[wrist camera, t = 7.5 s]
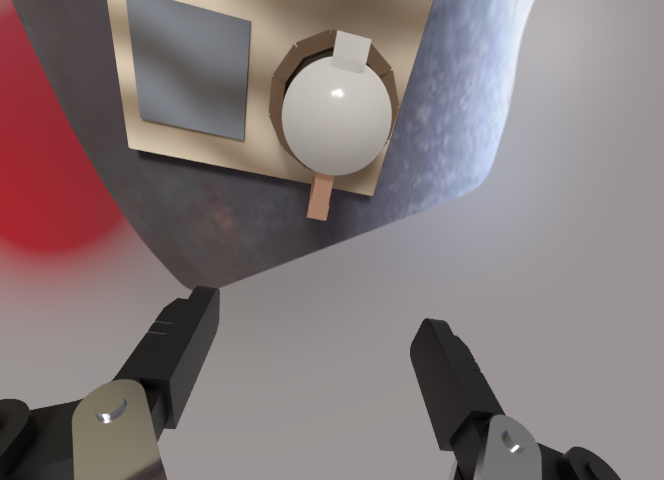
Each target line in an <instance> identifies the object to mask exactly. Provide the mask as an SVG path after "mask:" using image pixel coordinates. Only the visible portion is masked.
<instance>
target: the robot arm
mask: <svg viewBox="0 0 664 480" xmlns="http://www.w3.org/2000/svg"><path fill="white" fill-rule="evenodd" d="M219 297H220V291H219V289H218V288H211V287H204V286H196V287H195V289H194V290H193V292H192V293H191V295H190V297H189V298H188V299H181V298H177V299H176V300H174V301H173V302H172V303H171V304H169V305H167V306H166V307H164V309H163V310H162V312H161V313H160V314H159V316H158V317H157V319H156V320H155V323H153V324H152V326H151V327H150V329H149V330H148V333H146V334H145V336H144V337H143V339H142V340H141V341H140V343H139V344H138V346H137V347H136V348H135V350H134V351H133V353H132V354H131V355H130V357H129V358H128V360H127V361H126V362H125V364H124V365H123V367H122V368H121V370H120V371H119V372H118V374H117V375H116V376H115V378H114V379H113V380H112V381H111V382H108V383H106V384H103V385H101V386H100V387H98V388H96V389H95V390H93V391H92V392H90V393H89V394H88V395H87V396H86V397H85V398H83V399H80V400H77V401H74V402H70V403H64V404H59V405H54V406H50V407H44V408H39V409H34V410H30V409H29V408H28V406H27V405H26V403H24V402H23V401H20V400H17V399H3V400H0V480H167V478H166V474H165V470H164V467H163V464H162V461H161V456H160V452H159V448H158V444H157V442H158V440H159V438H160V436H161V434H162V431H163V429H164V428H166V429H176V427H177V424H178V422H179V419H180V417H181V415H182V412H183V410H184V408H185V405H186V403H187V401H188V398H189V396H190V394H191V391H192V389H193V387H194V384H195V382H196V380H197V377H198V375H199V372H200V370H201V368H202V365H203V363H204V361H205V358H206V356H207V354H208V351H209V349H210V347H211V344H212V342H213V339H214V337H215V335H216V332H217V328H218V324H219V303H220V302H219V300H220V298H219ZM410 357H411V361H412V364H413V367H414V370H415V373H416V377H417V380H418V383H419V386H420V389H421V392H422V395H423V399H424V402H425V405H426V408H427V411H428V414H429V417H430V420H431V423H432V426H433V430H434V432H435V436H436V439H437V442H438V445H439V448H440V450H443V451H453V452H454V454H455V457H456V460H455V461H454V462H453V465H452V468H451V473H450V476H449V480H621V479H620V478H619V476H618V475H617V474H616V473H615V472H614V470H613V469H612V468H611V467H610V466H609V465H608V464H607V463H606V462H605V461H603V460H602V459H601V458H600V457H598V456H597V455H595V454H594V453H592V452H591V451H589V450H587V449H584V448H582V447H573V448H571V449H570V450H569V451H567V452H566V453H565V454H563V453H560V452H558V451H556V450H553V449H551V448H549V447H546V446H544V445H542V444H539V443H537V442H536V441H535V439H534V438H533V436H532V435H531V434H530V433H529V431H528V430H527V429H526V428H525V427H524V426H523V425H521V424H520V423H519V422H517V421H516V420H514V419H513V418H511V417H508V416H506V415H505V413H504V411H503V410H502V408H501V406H500V404H499V402H498V401H497V399H496V397H495V395H494V393H493V392H492V390H491V388H490V386H489V384H488V383H487V381H486V379H485V377H484V375H483V374H482V373H481V372H480V368H479V366H478V365H477V363H476V362H475V359H474V358H473V355H472V354H471V352H470V350H469V348H468V347H467V346H466V345H465V344H464V343H463V341H462V340H461V339H460V338H459V337H457V336H454V335H453V333H452V331H451V329H450V327H449V325H448V324H447V322H445V321H443V320H435V319H428V318H426V319H424V320H423V322H422V324H421V326H420V328H419V330H418V332H417V334H416V336H415V338H414V340H413V342H412V344H411V348H410Z"/></svg>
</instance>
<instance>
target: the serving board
mask: <svg viewBox="0 0 664 480" xmlns="http://www.w3.org/2000/svg"><path fill="white" fill-rule="evenodd" d="M107 2H108V8H109V15H110V22H111V29H112V36H113V42H114V49H115V56H116V63H117V70H118V76H119V83H120V90H121V97H122V104H123V110H124V117H125V124H126V131H127V138H128V144H129V148H132V149H137V150H142V151H147V152H152V153H157V154H162V155H167V156H172V157H177V158H182V159H187V160H192V161H197V162H202V163H208V164H213V165H218V166H223V167H228V168H233V169H238V170H243V171H248V172H253V173H258V174H263V175H268V176H273V177H278V178H283V179H288V180H293V181H298V182H303V183H308V184H312V178H314V174H315V171H314V170H312V169H311V168H309V167H307V166H306V165H305V164H303V163H302V162H301V161H300V160H299V159H298V158H297V157H296V156H295V154H294V153H293V152H292V150H291V149H290V147H289V145H288V143H287V141H286V138H285V135H284V131H283V126H282V107H283V102H284V98H285V95H286V92H287V90H288V88H289V86H290V84H291V83H292V81H293V80H294V78H295V77H296V76H297V75H298V73H300V72H301V71H302V70H303V69H304V68H305V67H307V66H308V65H310V64H311V63H313V62H315V61H317V60H319V59H323V58H326V57H333V51H334V45H335V40H336V34H337V30H339V31H342V32H346V33H350V34H353V35H357V36H361V37H365V38H368V39H372V40H371V44H370V49H369V53H368V57H367V62H366V65H367V66H368V67H369V68H371V69H372V70H373V71H374V72H375V73H376V74H377V75H378V77H379V78H380V79H381V81H382V82H383V84H384V86H385V88H386V90H387V93H388V95H389V99H390V103H391V110H392V120H391V127H390V132H389V135H388V138H387V141H386V143H385V145H384V147H383V148H382V150H381V151H380V153H379V154H378V155H377V156H376V158H375V159H374V160H373V161H372V162H370V163H369V164H368V165H367V166H365V167H364V168H362V169H360V170H358V171H356V172H353V173H350V174H346V175H335V176H334V181H333V185H332V188H334V189H339V190H344V191H349V192H354V193H359V194H364V195H369V196H373V193H374V190H375V187H376V184H377V180H378V177H379V174H380V171H381V167H382V164H383V161H384V158H385V155H386V151H387V148H388V145H389V142H390V138H391V135H392V132H393V129H394V126H395V122H396V119H397V116H398V113H399V109H400V106H401V103H402V100H403V97H404V93H405V90H406V87H407V84H408V80H409V77H410V74H411V71H412V68H413V64H414V61H415V58H416V55H417V51H418V48H419V45H420V42H421V39H422V35H423V32H424V29H425V26H426V22H427V19H428V16H429V13H430V10H431V6H432V3H433V0H107Z"/></svg>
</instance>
